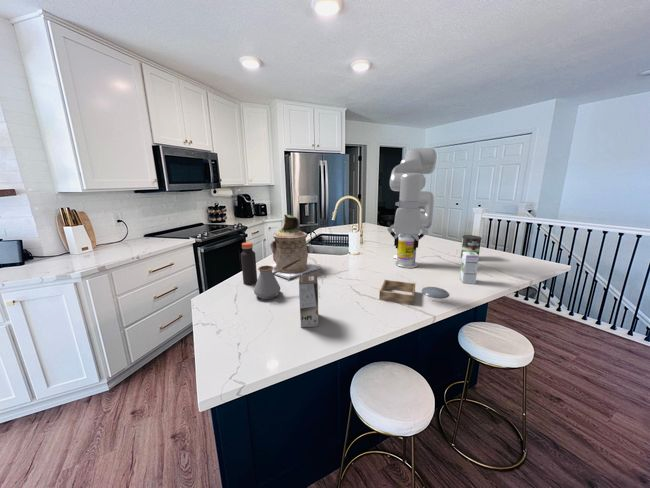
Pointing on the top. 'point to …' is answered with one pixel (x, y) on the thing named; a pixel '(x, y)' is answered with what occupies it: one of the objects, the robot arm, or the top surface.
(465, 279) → the syrup box
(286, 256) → the cookie jar
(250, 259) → the vinegar
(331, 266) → the top surface
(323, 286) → the top surface
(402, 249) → the supplement bottle
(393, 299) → the wooden box
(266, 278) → the coffee pot
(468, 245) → the coffee can
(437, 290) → the trivet
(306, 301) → the coffee box
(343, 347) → the top surface
